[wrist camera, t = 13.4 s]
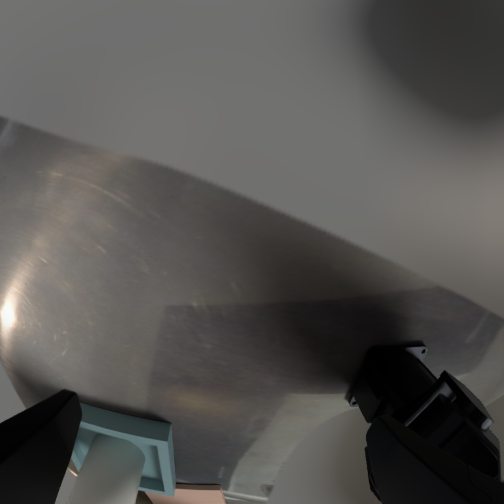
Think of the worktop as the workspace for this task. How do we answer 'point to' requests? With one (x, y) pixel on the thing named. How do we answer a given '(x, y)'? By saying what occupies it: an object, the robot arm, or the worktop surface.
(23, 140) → the worktop surface
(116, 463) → the frosted white cylinder
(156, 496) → the plate
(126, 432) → the tray
